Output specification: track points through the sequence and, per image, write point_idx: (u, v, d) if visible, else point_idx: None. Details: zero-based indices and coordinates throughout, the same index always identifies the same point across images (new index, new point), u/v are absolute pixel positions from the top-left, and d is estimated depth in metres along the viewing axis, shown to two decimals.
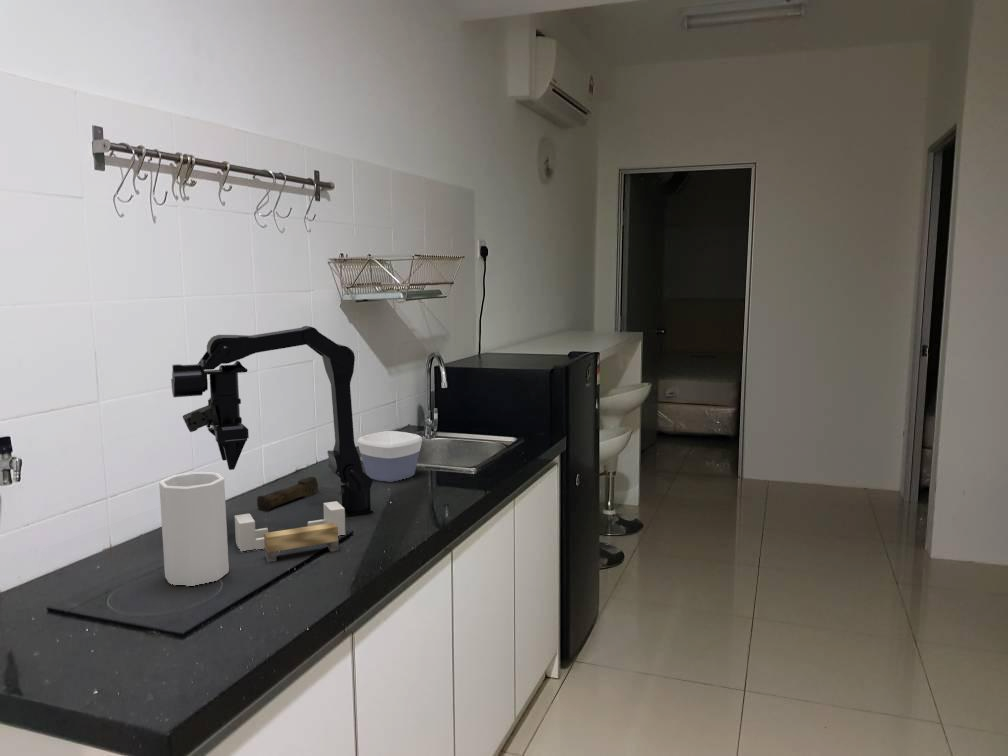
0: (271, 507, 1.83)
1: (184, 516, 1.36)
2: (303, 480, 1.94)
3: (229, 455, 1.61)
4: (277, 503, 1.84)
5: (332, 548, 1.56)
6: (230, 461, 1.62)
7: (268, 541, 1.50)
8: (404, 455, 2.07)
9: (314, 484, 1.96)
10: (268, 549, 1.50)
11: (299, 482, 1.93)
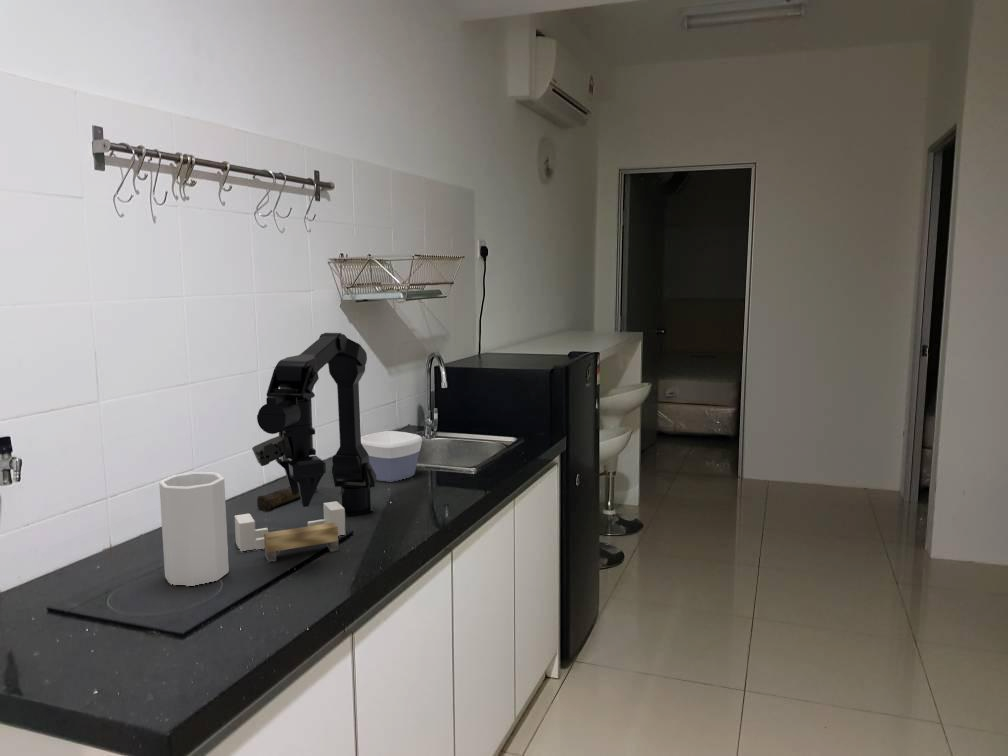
0: (271, 507, 1.83)
1: (184, 516, 1.36)
2: None
3: (304, 491, 1.48)
4: (277, 503, 1.84)
5: (332, 548, 1.56)
6: (304, 497, 1.48)
7: (268, 541, 1.50)
8: (404, 455, 2.07)
9: None
10: (268, 549, 1.50)
11: None
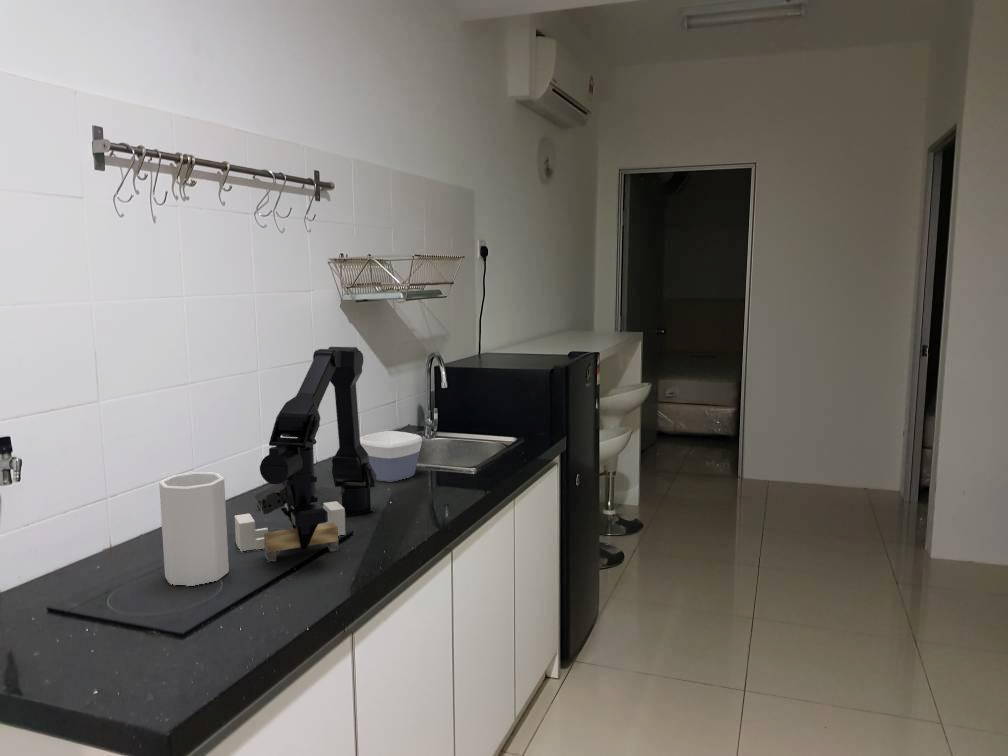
0: None
1: (184, 516, 1.36)
2: None
3: (302, 535, 1.51)
4: None
5: (332, 548, 1.56)
6: (303, 541, 1.52)
7: (268, 541, 1.50)
8: (404, 455, 2.07)
9: None
10: (268, 549, 1.50)
11: None
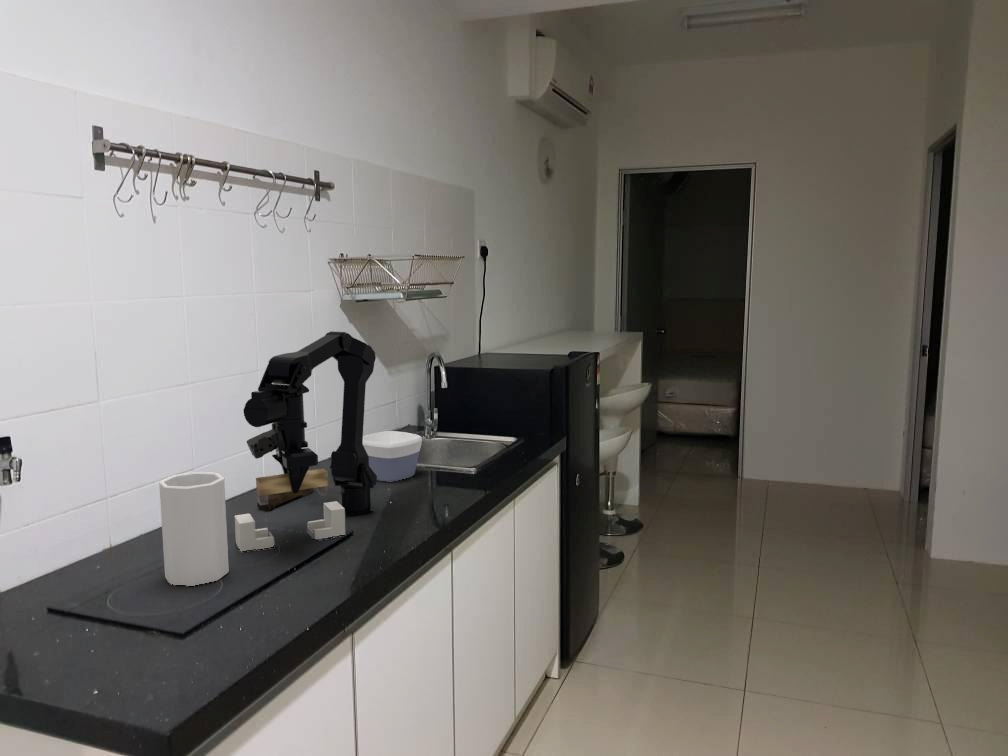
0: (272, 507, 1.83)
1: (184, 516, 1.36)
2: None
3: (293, 479, 1.57)
4: (277, 503, 1.84)
5: (322, 492, 1.61)
6: (294, 484, 1.57)
7: (260, 485, 1.55)
8: (404, 455, 2.07)
9: None
10: (260, 492, 1.55)
11: None
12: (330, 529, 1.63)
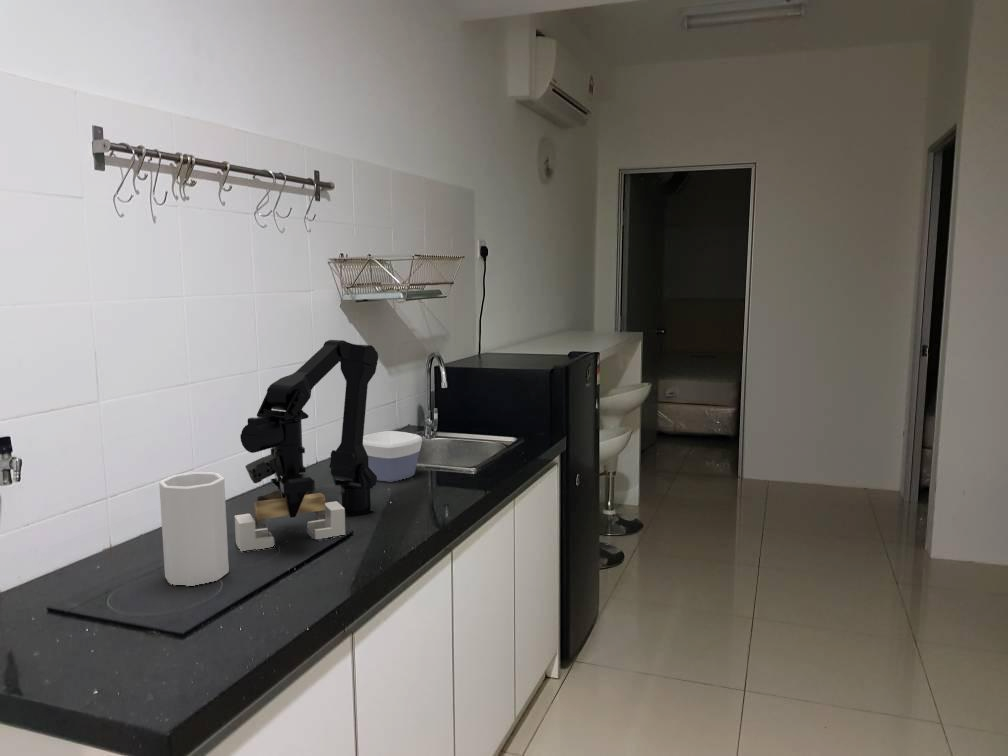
0: None
1: (184, 516, 1.36)
2: None
3: (291, 503, 1.59)
4: None
5: (319, 517, 1.64)
6: (292, 509, 1.60)
7: (258, 509, 1.57)
8: (404, 455, 2.07)
9: None
10: (258, 516, 1.58)
11: None
12: (330, 529, 1.63)
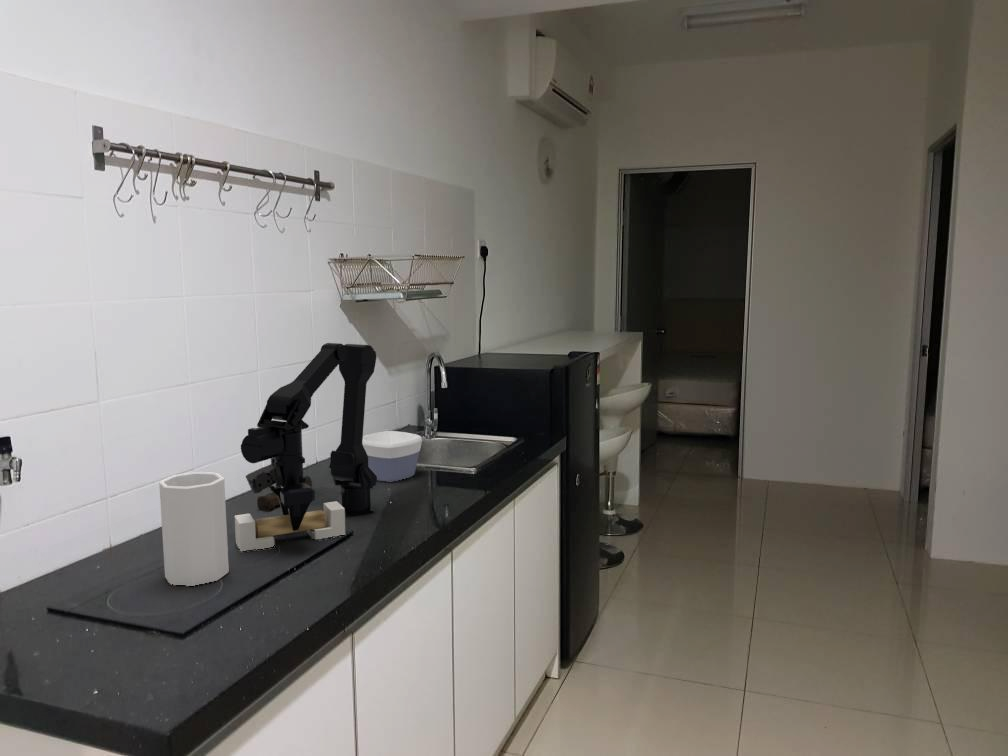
0: (272, 507, 1.83)
1: (184, 516, 1.36)
2: None
3: (293, 516, 1.57)
4: (277, 503, 1.85)
5: None
6: (294, 522, 1.58)
7: (258, 527, 1.58)
8: (404, 455, 2.07)
9: (309, 483, 1.97)
10: (258, 534, 1.58)
11: None
12: (330, 529, 1.63)
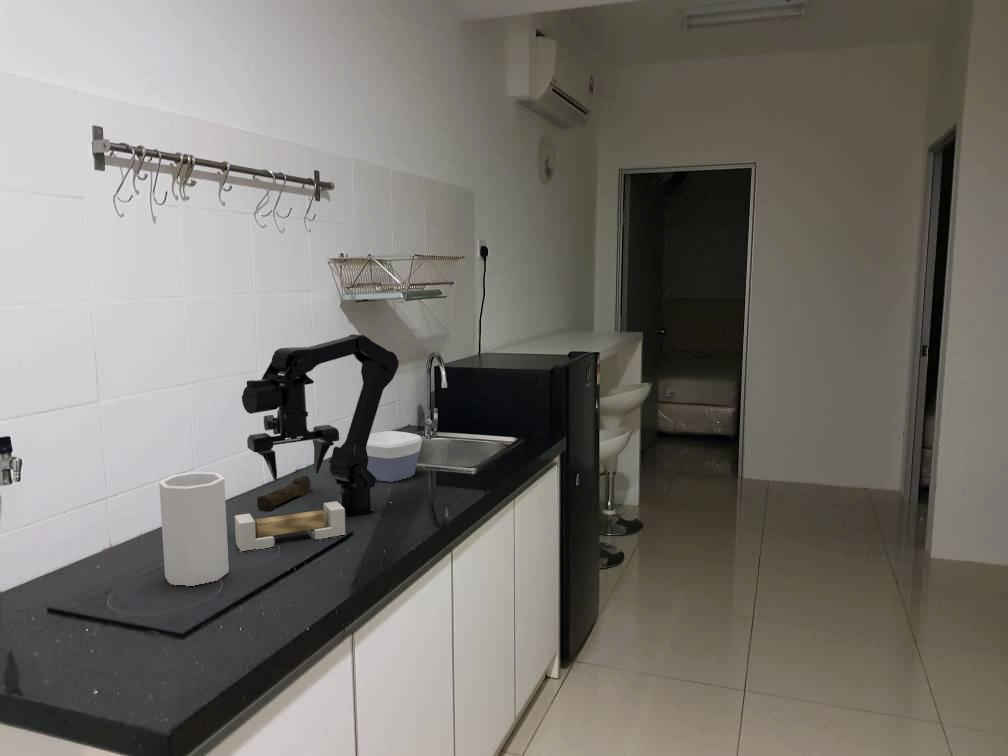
0: (272, 507, 1.83)
1: (184, 516, 1.36)
2: (298, 479, 1.94)
3: (268, 465, 1.65)
4: (277, 503, 1.85)
5: None
6: (270, 471, 1.66)
7: (258, 527, 1.58)
8: (404, 455, 2.07)
9: (308, 483, 1.97)
10: (258, 534, 1.58)
11: (294, 481, 1.94)
12: (330, 529, 1.63)
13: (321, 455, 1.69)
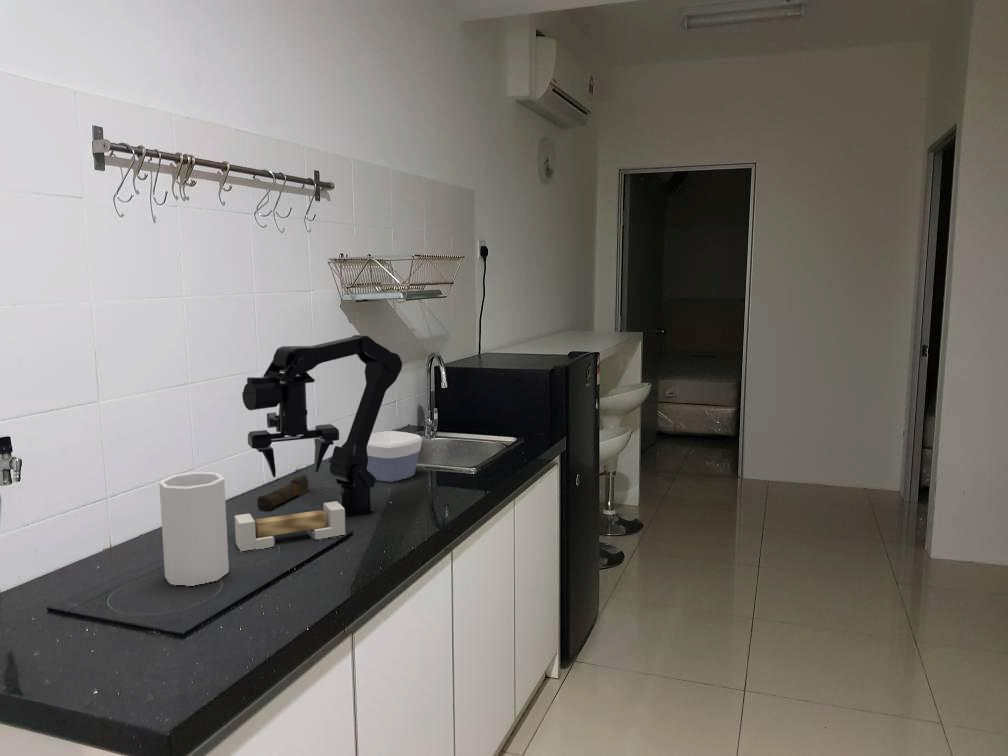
0: (272, 507, 1.83)
1: (184, 516, 1.36)
2: (296, 479, 1.95)
3: (267, 462, 1.67)
4: (277, 503, 1.85)
5: None
6: None
7: (258, 527, 1.58)
8: (404, 455, 2.07)
9: (306, 483, 1.97)
10: (258, 534, 1.58)
11: (293, 481, 1.94)
12: (330, 529, 1.63)
13: (320, 454, 1.69)
